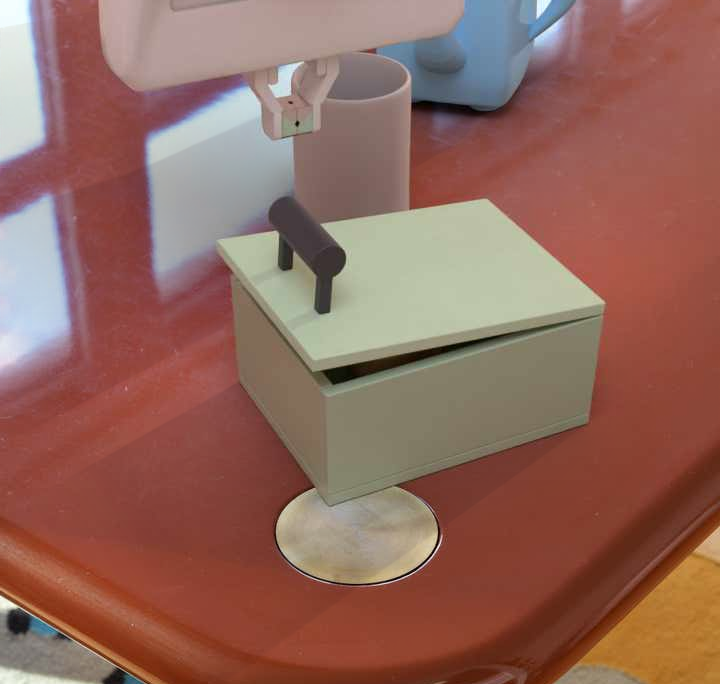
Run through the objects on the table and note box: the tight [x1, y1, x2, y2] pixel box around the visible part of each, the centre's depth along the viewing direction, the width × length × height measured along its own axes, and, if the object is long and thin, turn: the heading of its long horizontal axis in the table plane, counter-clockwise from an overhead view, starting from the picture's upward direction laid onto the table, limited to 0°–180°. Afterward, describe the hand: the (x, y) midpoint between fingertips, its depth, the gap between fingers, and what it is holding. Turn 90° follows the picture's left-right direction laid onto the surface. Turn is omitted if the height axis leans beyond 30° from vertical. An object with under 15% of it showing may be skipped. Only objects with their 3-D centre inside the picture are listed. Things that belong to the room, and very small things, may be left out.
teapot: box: [375, 0, 578, 112], centre depth 114 cm, size 18×16×14 cm
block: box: [347, 346, 443, 381], centre depth 83 cm, size 4×4×4 cm
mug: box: [290, 51, 412, 224], centre depth 99 cm, size 12×8×11 cm
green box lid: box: [216, 195, 606, 372], centre depth 77 cm, size 18×14×5 cm
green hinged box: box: [230, 273, 604, 507], centre depth 82 cm, size 18×14×8 cm
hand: (291, 132), depth 77 cm, fingers closed
